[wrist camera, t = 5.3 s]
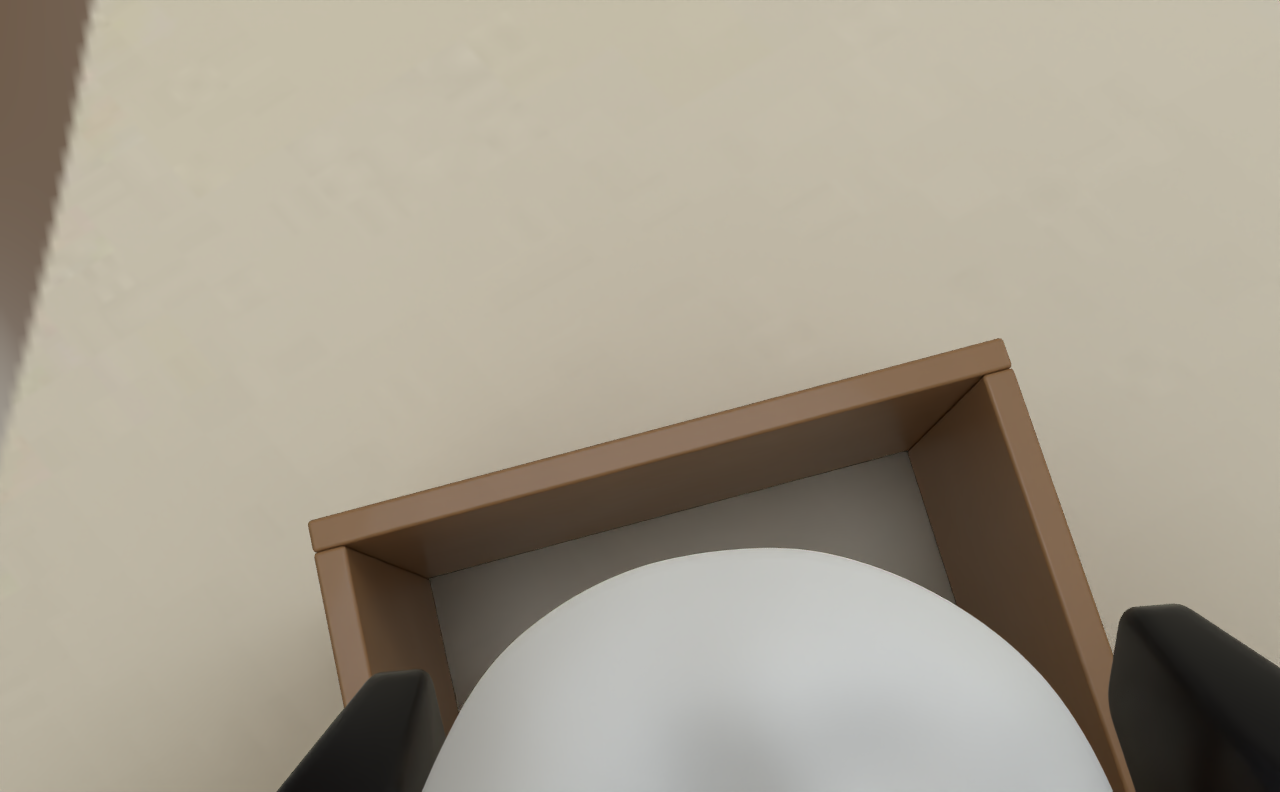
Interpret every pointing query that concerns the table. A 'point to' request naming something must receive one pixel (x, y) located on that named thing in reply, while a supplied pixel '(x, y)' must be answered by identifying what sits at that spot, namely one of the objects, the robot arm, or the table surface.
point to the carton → (738, 464)
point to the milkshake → (763, 690)
